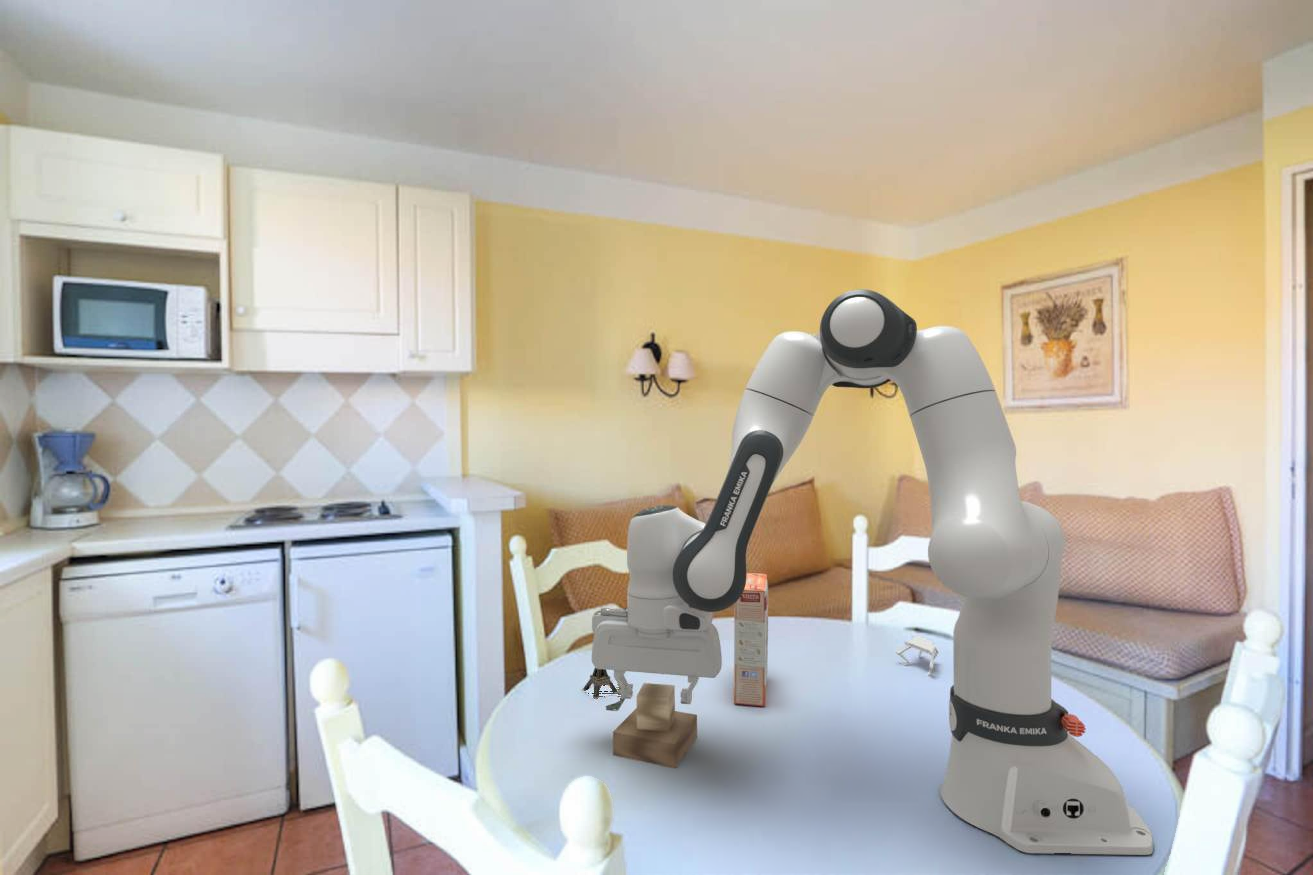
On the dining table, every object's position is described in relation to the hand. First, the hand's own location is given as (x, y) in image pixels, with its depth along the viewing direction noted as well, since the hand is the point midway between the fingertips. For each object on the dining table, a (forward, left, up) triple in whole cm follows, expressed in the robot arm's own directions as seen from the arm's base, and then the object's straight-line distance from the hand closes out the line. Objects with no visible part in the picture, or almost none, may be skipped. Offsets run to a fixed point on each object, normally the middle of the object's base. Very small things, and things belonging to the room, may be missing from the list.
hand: (656, 699), depth 96 cm
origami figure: (-46, -43, -7) cm, 64 cm away
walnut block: (0, 0, -8) cm, 8 cm away
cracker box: (-13, -24, -7) cm, 28 cm away
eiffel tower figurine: (+15, -18, -8) cm, 24 cm away
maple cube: (0, 0, -4) cm, 4 cm away
